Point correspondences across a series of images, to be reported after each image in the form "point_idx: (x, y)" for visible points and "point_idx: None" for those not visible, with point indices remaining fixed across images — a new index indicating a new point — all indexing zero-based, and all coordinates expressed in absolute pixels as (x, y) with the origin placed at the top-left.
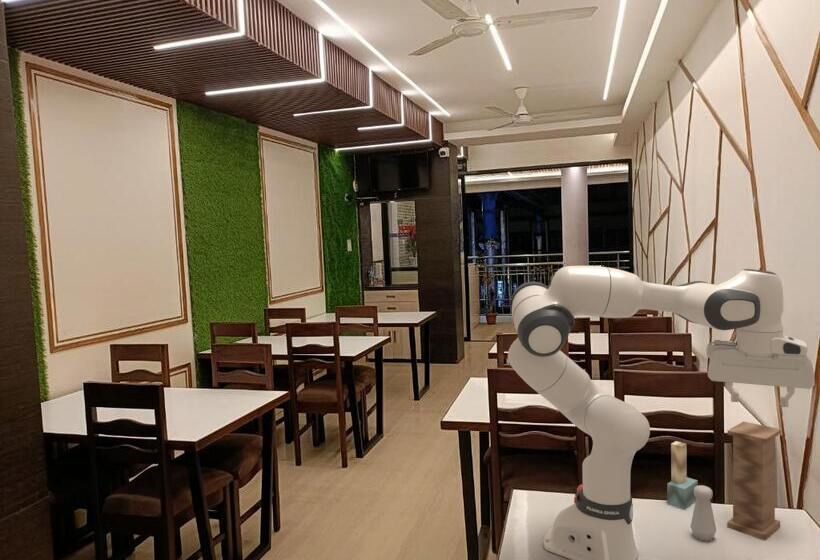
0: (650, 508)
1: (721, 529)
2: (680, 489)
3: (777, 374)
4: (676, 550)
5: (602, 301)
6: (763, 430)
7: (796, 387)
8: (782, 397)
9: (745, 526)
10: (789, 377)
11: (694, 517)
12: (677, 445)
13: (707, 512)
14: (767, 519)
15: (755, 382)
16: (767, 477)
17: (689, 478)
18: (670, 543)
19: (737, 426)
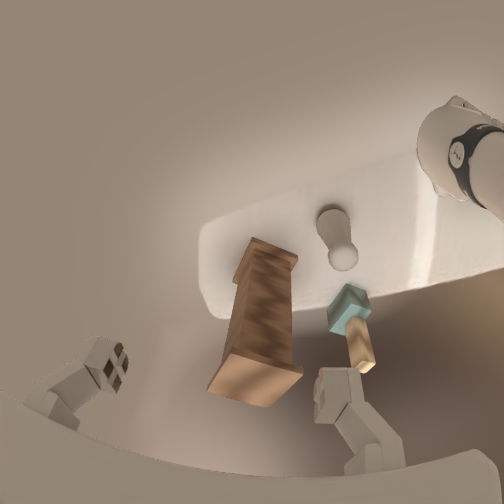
0: (388, 273)
1: (305, 248)
2: (356, 303)
3: (49, 498)
4: (369, 171)
5: None
6: (235, 384)
7: (6, 396)
8: (105, 387)
9: (275, 255)
10: (4, 454)
11: (349, 227)
12: (367, 361)
13: (333, 231)
14: (246, 268)
15: (206, 484)
16: (239, 310)
17: (339, 332)
18: (375, 187)
19: (280, 391)
